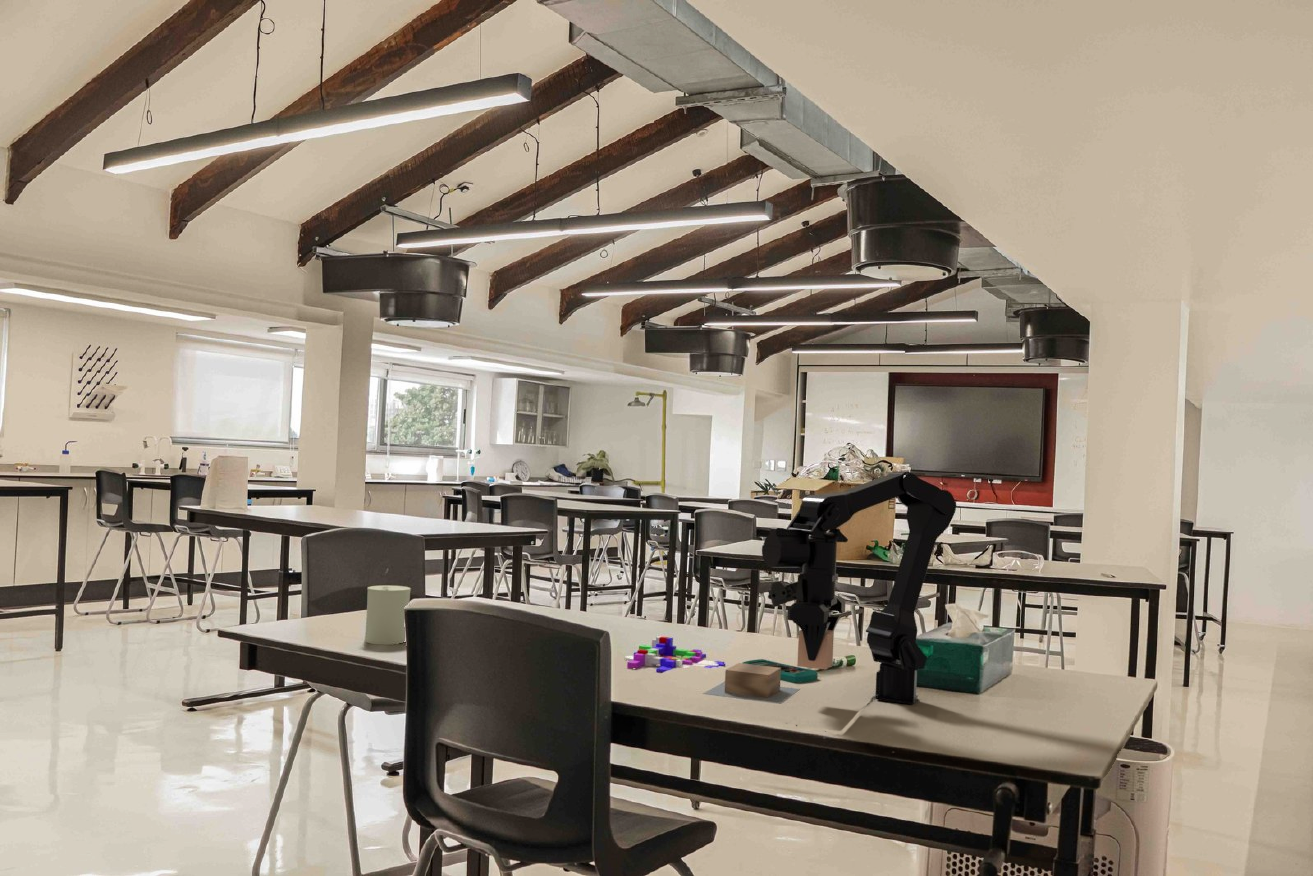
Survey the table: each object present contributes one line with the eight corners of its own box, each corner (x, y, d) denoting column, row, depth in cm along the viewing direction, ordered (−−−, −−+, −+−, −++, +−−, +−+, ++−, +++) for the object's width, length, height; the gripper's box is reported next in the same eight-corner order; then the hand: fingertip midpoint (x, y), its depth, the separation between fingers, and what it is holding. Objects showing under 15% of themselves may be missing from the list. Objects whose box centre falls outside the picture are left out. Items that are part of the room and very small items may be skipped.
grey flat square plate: (799, 692, 189) (800, 689, 189) (780, 707, 176) (780, 703, 176) (727, 683, 195) (727, 680, 195) (702, 697, 182) (703, 693, 182)
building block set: (701, 680, 199) (702, 656, 199) (605, 668, 207) (606, 645, 207) (741, 661, 222) (742, 640, 222) (653, 651, 230) (654, 630, 230)
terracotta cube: (832, 665, 180) (833, 630, 180) (826, 669, 175) (827, 634, 175) (804, 661, 182) (805, 627, 182) (797, 666, 177) (798, 631, 177)
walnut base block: (779, 690, 188) (780, 667, 188) (768, 698, 180) (769, 675, 181) (737, 684, 191) (738, 663, 191) (724, 692, 183) (725, 669, 184)
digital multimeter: (797, 689, 194) (797, 673, 195) (737, 675, 205) (738, 660, 205) (820, 685, 200) (821, 670, 200) (761, 672, 210) (761, 657, 210)
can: (358, 643, 219) (361, 587, 219) (371, 636, 228) (374, 582, 228) (401, 646, 218) (404, 589, 219) (413, 639, 228) (416, 584, 228)
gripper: (787, 561, 191) (783, 646, 190) (759, 567, 173) (755, 661, 173) (847, 565, 187) (843, 652, 186) (825, 573, 169) (821, 668, 169)
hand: (815, 658), depth 179 cm, fingers closed on terracotta cube, 5 cm apart
